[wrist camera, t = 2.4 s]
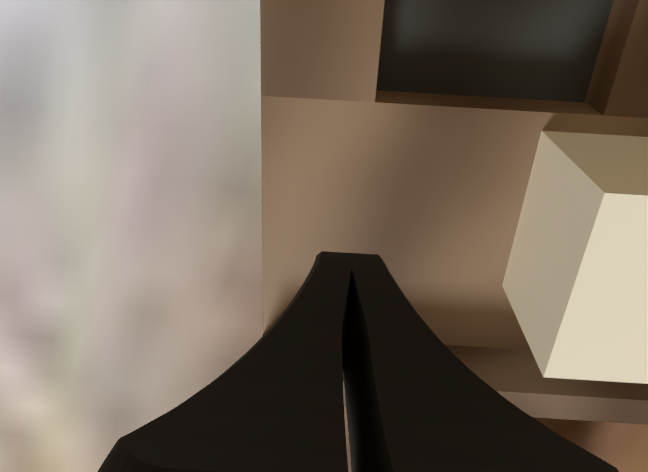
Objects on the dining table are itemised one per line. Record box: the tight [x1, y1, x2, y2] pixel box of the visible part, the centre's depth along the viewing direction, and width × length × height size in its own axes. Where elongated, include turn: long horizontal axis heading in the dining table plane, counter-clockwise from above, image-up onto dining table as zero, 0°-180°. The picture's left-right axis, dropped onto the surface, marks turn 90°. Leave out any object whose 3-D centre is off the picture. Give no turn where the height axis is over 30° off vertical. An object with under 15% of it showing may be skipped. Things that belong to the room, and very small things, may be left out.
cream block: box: [502, 131, 648, 384], centre depth 14 cm, size 5×5×4 cm
